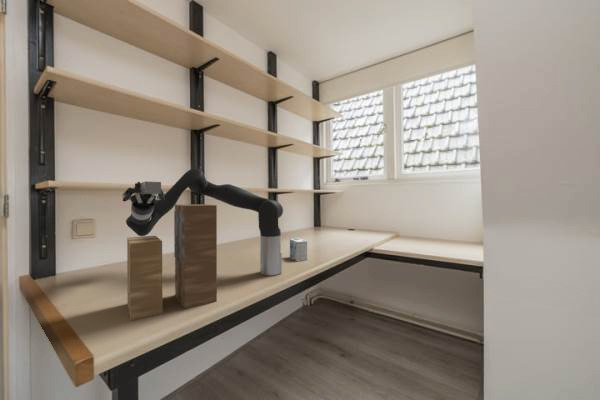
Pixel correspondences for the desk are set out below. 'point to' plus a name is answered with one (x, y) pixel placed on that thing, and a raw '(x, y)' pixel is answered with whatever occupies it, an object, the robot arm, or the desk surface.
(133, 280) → the oak step
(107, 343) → the desk surface
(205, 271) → the tall brown wooden block
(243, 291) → the desk surface
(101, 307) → the desk surface
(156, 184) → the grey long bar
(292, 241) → the light bulb box
